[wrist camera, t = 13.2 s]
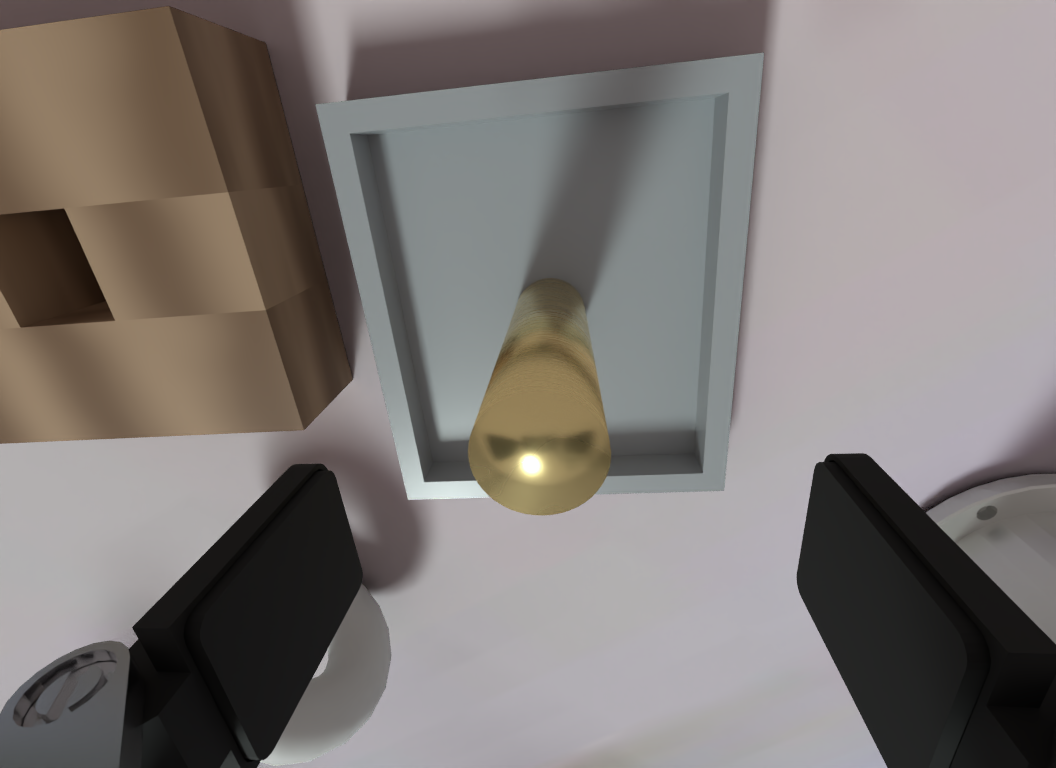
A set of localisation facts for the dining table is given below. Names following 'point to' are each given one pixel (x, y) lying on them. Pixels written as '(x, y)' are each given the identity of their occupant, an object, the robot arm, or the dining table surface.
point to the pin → (543, 409)
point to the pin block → (154, 237)
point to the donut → (340, 687)
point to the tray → (556, 252)
